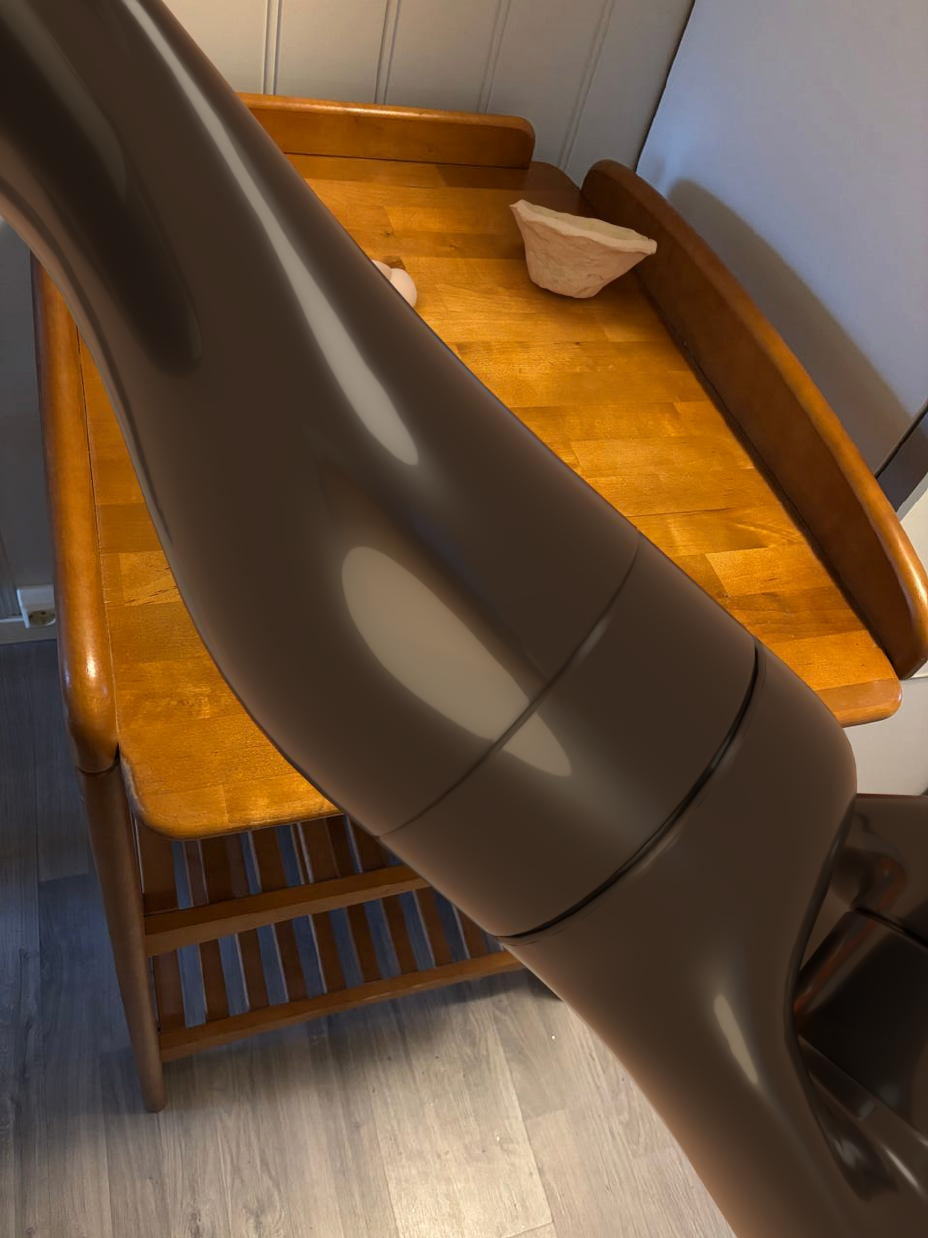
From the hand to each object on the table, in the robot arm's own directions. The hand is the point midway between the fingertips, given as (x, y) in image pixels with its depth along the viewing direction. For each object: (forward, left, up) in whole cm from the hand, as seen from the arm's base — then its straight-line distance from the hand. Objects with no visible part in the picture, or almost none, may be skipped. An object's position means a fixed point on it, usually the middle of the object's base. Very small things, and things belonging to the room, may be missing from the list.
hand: (433, 707), depth 49 cm
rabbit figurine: (-7, +53, -16) cm, 56 cm away
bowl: (+10, +65, -16) cm, 68 cm away
